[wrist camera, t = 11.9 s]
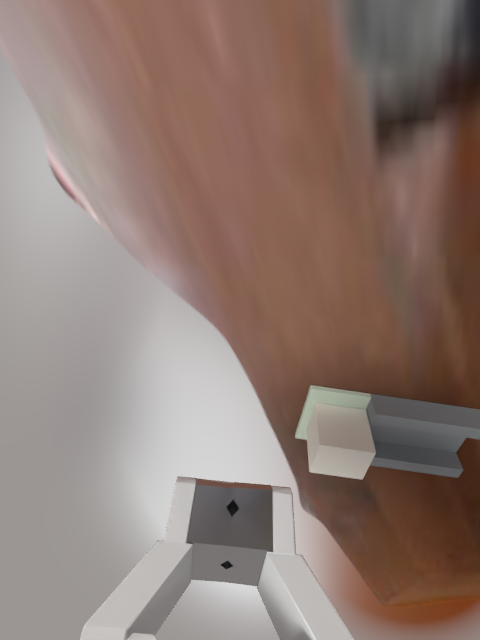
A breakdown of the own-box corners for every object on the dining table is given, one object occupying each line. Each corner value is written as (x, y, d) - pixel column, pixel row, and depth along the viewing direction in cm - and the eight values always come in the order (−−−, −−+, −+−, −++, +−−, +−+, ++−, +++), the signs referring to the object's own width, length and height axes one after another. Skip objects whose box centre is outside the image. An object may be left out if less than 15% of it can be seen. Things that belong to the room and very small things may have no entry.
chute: (480, 409, 47) (492, 430, 44) (448, 456, 52) (457, 477, 49) (310, 385, 47) (312, 404, 44) (294, 434, 52) (295, 454, 49)
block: (365, 409, 47) (376, 452, 42) (353, 436, 50) (362, 479, 45) (315, 402, 47) (319, 444, 42) (306, 429, 50) (309, 472, 45)
